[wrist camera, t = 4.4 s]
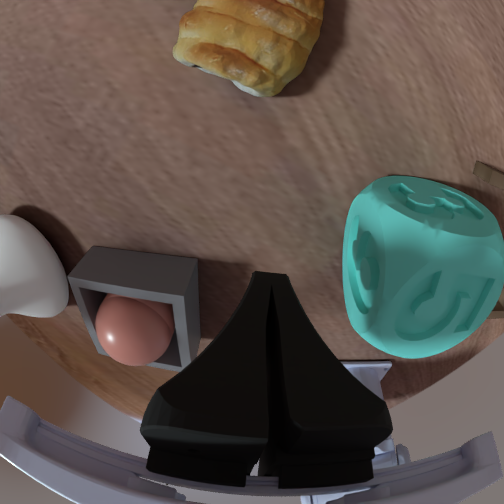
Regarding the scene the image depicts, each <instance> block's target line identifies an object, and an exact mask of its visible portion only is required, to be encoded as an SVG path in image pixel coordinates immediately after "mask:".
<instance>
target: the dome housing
mask: <svg viewBox="0 0 504 504" xmlns="http://www.w3.org/2000/svg"><path fill="white" fill-rule="evenodd" d="M67 277H68V280H69V283H70V286H71V289H72V291H73V294H74V297H75V299H76V302H77V305H78V307H79V310H80V312H81V315H82V317H83V320H84V322H85V324H86V327H87V329H88V331H89V333H90V336H91V338H92V340H93V342H94V344H95V347H96V349H97V351H98V353H99V354H103V355H106V356H109V355H108V354H107V353H106V351H105V350H104V349H103V347H102V346H101V344H100V342H99V340H98V337H97V333H96V326H95V321H96V315H97V312H98V309H99V307H100V305H101V303H102V301H103V300H104V298H105V297H106V295H107V293H111V294H116V295H122V296H127V297H133V298H139V299H145V300H151V301H157V302H163V303H170V304H172V305H173V313H174V320H175V327H176V329H174V332H173V335H172V338H171V341H170V344H169V346H168V348H167V349H166V351H165V352H164V353H163V355H162V356H161V357H159V358H158V359H157V360H155V361H154V362H152V363H149V364H146V365H147V366H152V367H157V368H162V369H167V370H172V371H178V372H181V371H182V370H183V369H184V368H185V367H186V366H187V365H189V364H190V363H191V362H192V361H193V360H194V359H195V358H196V356H197V352H198V348H199V343H200V339H201V333H200V314H199V291H198V259H197V258H188V257H179V256H171V255H162V254H154V253H146V252H137V251H129V250H121V249H113V248H105V247H97V246H92V247H91V248H90V250H89V251H88V252H87V253H86V254H85V255H84V257H83V258H82V259H81V260H80V261H79V263H78V264H77V265H76V266H75V267H74V269H73V270H72V271H71V272H70V274H69V275H68V276H67ZM110 357H111V356H110Z"/></svg>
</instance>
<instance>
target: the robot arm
mask: <svg viewBox="0 0 504 504" xmlns="http://www.w3.org/2000/svg"><path fill="white" fill-rule="evenodd" d="M391 366H392V363H391V361H375V362H340V361H339V360H338V359H337V358H336V356H335V355H334V354H333V353H332V352H331V350H330V349H329V348H328V346H327V345H326V344H325V343H324V341H323V340H322V338H321V337H320V336H319V334H318V333H317V331H316V330H315V328H314V327H313V325H312V323H311V322H310V320H309V318H308V317H307V315H306V313H305V311H304V310H303V308H302V306H301V304H300V302H299V300H298V298H297V296H296V294H295V292H294V290H293V287H292V285H291V283H290V280H289V277H288V276H287V275H286V274H279V273H269V272H259V271H255V272H253V273H252V277H251V280H250V283H249V286H248V288H247V290H246V292H245V294H244V296H243V298H242V300H241V302H240V303H239V305H238V307H237V309H236V310H235V312H234V313H233V315H232V316H231V318H230V319H229V321H228V322H227V323H226V325H225V326H224V327H223V329H222V330H221V331H220V333H219V334H218V335H217V336H216V337H215V339H214V340H213V341H212V342H211V343H210V344H209V345H208V346H207V347H206V348H205V350H204V351H203V352H202V353H201V354H200V355H199V356H197V357H196V358H195V359H194V360H193V361H192V362H191V363H190V364H189V365H187V366H186V367H185V368H184V369H183V370H182V371H181V372H179V373H178V374H177V375H175V376H174V377H173V378H171V379H170V380H169V381H167V382H166V383H165V384H163V385H162V386H160V387H159V388H158V389H157V390H156V392H155V394H154V395H153V397H152V399H151V400H150V402H149V404H148V406H147V409H146V411H145V413H144V416H143V420H142V424H141V427H140V432H141V435H142V436H143V437H144V439H145V440H146V442H147V443H148V444H149V445H150V451H149V455H148V459H145V458H142V457H138V456H134V455H131V454H128V453H124V452H121V451H118V450H115V449H112V448H109V447H106V446H103V445H101V444H98V443H95V442H92V441H90V440H87V439H85V438H82V437H80V436H78V435H75V434H73V433H71V432H68V431H66V430H64V429H62V428H60V427H57V426H55V425H53V424H51V423H49V422H47V421H45V420H43V419H41V418H40V417H39V415H38V414H37V413H35V412H34V411H33V410H32V409H30V408H29V407H27V406H26V405H24V404H23V403H21V402H19V401H17V400H16V399H14V398H12V397H11V396H7V398H6V400H5V402H4V404H3V406H2V408H1V411H0V455H1V456H2V457H3V458H5V459H6V460H7V461H9V462H10V463H11V464H13V465H14V466H16V467H17V468H18V469H20V470H21V471H23V472H24V473H26V474H27V475H29V476H30V477H32V478H33V479H35V480H36V481H38V482H39V483H41V484H43V485H44V486H46V487H47V488H49V489H51V490H52V491H54V492H56V493H58V494H59V495H61V496H63V497H65V498H67V499H69V500H70V501H73V502H75V503H76V504H203V503H197V502H190V501H185V499H186V497H185V496H184V495H183V494H180V493H177V491H176V489H175V488H171V487H168V486H165V485H161V484H158V483H154V482H151V481H149V480H145V479H142V478H140V477H143V478H146V479H150V480H154V481H158V482H162V483H166V484H171V485H175V486H181V487H186V488H191V489H197V490H204V491H210V492H218V493H227V494H237V495H251V496H301V503H302V504H458V503H460V502H461V501H463V500H465V499H467V498H469V497H471V496H472V495H474V494H476V493H478V492H479V491H481V490H483V489H485V488H486V487H488V486H490V485H491V484H493V483H495V482H496V481H498V480H500V479H501V478H502V477H503V474H502V469H501V464H500V460H499V455H498V451H497V448H496V444H495V440H494V437H493V433H492V431H490V432H488V433H485V434H482V435H480V436H478V437H475V438H473V439H472V440H470V441H468V442H467V443H465V444H464V445H462V446H461V447H459V448H457V449H454V450H451V451H448V452H445V453H442V454H438V455H435V456H432V457H428V458H425V459H421V460H418V461H414V462H411V460H410V455H409V451H408V448H407V447H405V446H403V445H402V444H398V445H396V452H397V454H396V453H395V447H394V442H393V439H392V438H391V433H392V430H393V427H392V422H391V417H390V414H389V410H388V408H387V405H386V402H385V401H384V398H383V393H382V389H381V385H380V381H381V380H382V378H383V377H384V376H385V374H386V373H387V372H388V370H389V369H390V368H391ZM396 456H397V459H396ZM259 458H260V459H259ZM258 460H259V468H258V476H250V473H251V471H252V469H253V467H254V465H255V464H257V462H258ZM397 464H398V465H397Z"/></svg>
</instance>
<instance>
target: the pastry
mask: <svg viewBox="0 0 504 504" xmlns="http://www.w3.org/2000/svg"><path fill="white" fill-rule="evenodd" d="M324 5H325V2H324V0H198V1H197V3H196V4H195V5H194V8H193V10H192V11H189V12H187V13H185V14H184V15H183V16H182V18H181V20H180V23H179V27H180V30H179V38H178V41H177V44H176V45H175V46H174V47H173V56H174V58H175V59H176V60H178V61H179V62H180V63H182V64H185V65H187V66H189V67H197V68H199V69H200V70H202V71H204V72H207V73H210V74H214V75H217V76H219V77H222V78H225V79H229V80H232V81H233V83H234V84H235V85H236V86H237V87H238V88H239V89H241V90H242V91H245V92H248V93H250V94H252V95H254V96H258V97H270V96H274V95H276V94H278V93H280V92H281V91H282V89H283V88H284V86H285V85H286V84H287V83H289V82H290V81H291V80H293V79H294V78H295V77H297V76H298V75H299V74H300V73H301V72H302V70H303V69H304V67H305V65H306V62H307V59H308V56H309V54H310V52H311V51H312V48H313V46H314V44H315V43H316V41H317V39H318V38H319V36H320V27H321V25H322V21H323V9H324Z"/></svg>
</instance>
